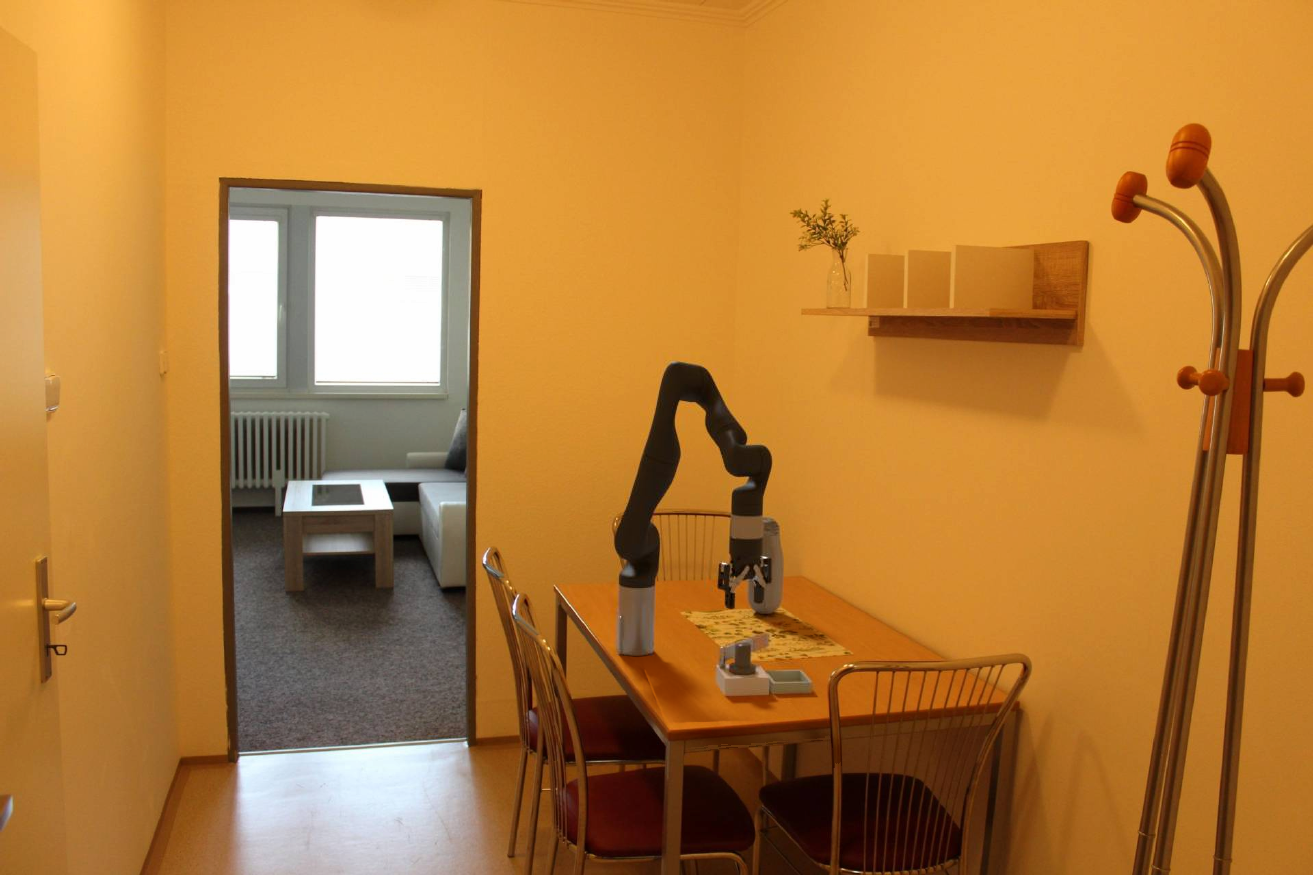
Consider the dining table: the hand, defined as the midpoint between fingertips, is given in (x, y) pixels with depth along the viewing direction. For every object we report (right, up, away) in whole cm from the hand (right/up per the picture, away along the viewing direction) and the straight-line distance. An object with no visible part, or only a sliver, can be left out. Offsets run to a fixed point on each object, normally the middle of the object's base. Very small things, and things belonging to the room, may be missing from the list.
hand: (744, 605), depth 239 cm
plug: (0, -19, +2) cm, 19 cm away
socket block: (0, -20, +2) cm, 20 cm away
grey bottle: (+12, -14, +73) cm, 75 cm away
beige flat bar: (+1, -14, +10) cm, 17 cm away
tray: (+10, -19, +3) cm, 22 cm away
